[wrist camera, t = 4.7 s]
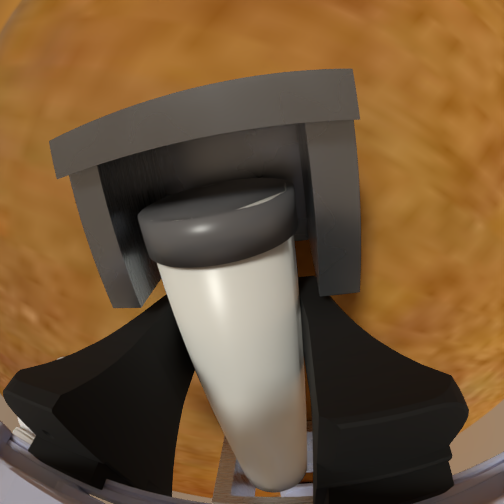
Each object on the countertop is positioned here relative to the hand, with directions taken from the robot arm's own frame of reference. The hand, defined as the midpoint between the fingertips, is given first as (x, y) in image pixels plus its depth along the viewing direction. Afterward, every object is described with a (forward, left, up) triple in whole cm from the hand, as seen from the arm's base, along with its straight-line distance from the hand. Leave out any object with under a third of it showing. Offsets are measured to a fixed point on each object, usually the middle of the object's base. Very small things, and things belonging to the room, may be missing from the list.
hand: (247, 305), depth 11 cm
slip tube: (-4, 0, -1) cm, 4 cm away
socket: (+4, 0, -2) cm, 5 cm away
